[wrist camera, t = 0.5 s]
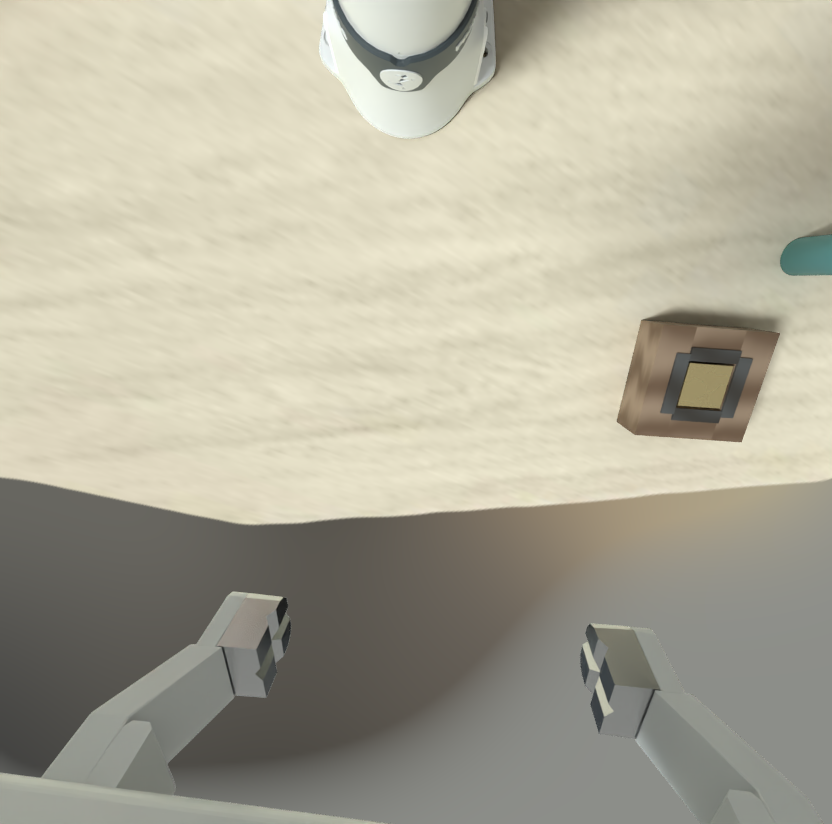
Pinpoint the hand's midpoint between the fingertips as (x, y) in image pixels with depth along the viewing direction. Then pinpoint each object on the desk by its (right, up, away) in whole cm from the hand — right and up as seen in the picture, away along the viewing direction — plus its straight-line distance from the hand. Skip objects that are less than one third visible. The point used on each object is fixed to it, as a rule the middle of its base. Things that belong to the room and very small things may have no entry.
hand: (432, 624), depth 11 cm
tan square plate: (+35, +9, +40) cm, 54 cm away
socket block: (+35, +11, +44) cm, 57 cm away
